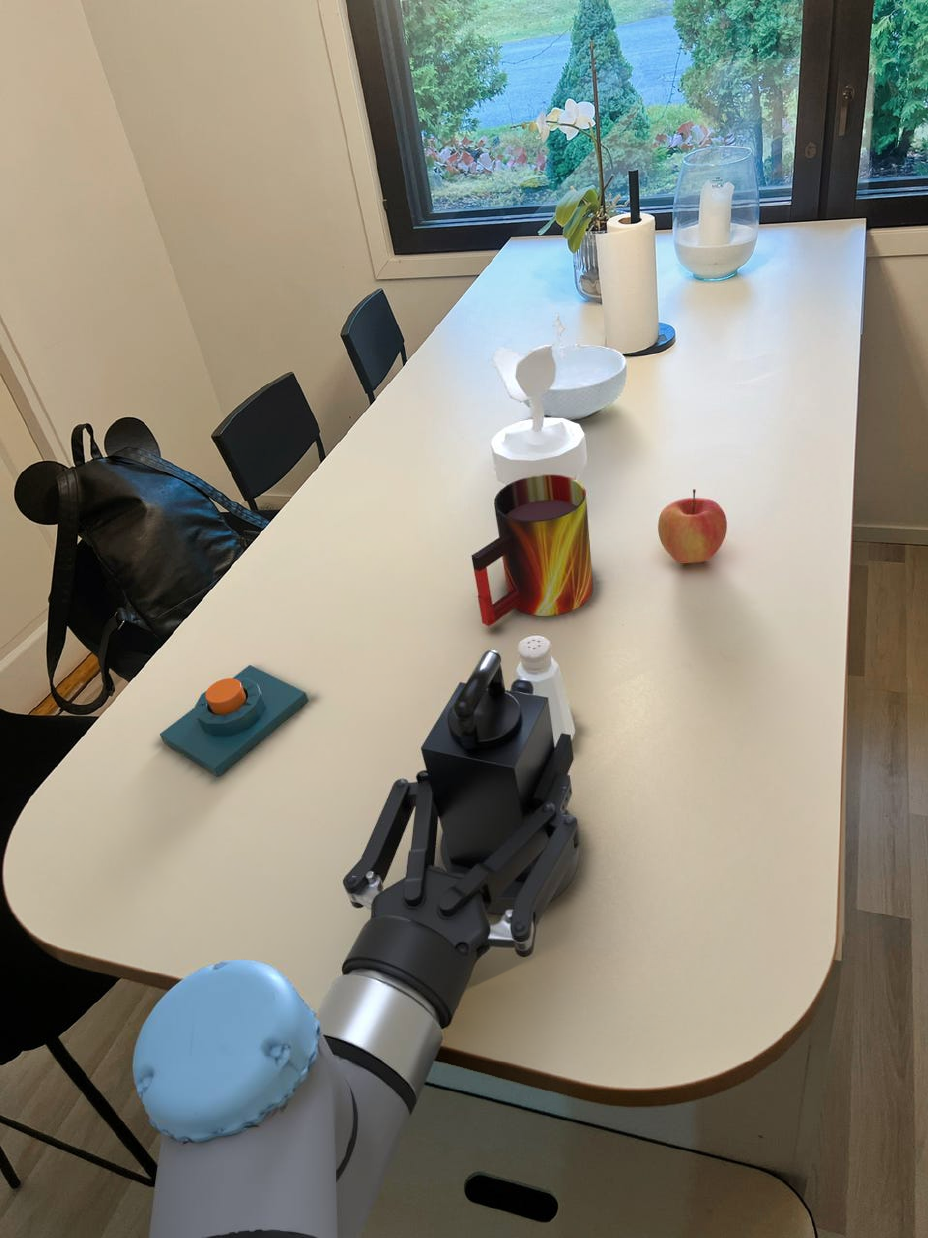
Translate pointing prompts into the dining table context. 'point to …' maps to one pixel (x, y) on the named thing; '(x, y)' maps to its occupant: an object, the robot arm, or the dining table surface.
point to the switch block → (234, 722)
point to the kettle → (487, 761)
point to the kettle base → (513, 889)
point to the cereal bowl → (584, 381)
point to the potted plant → (535, 420)
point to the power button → (225, 696)
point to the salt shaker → (546, 682)
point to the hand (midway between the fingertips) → (520, 737)
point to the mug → (538, 549)
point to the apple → (692, 529)
